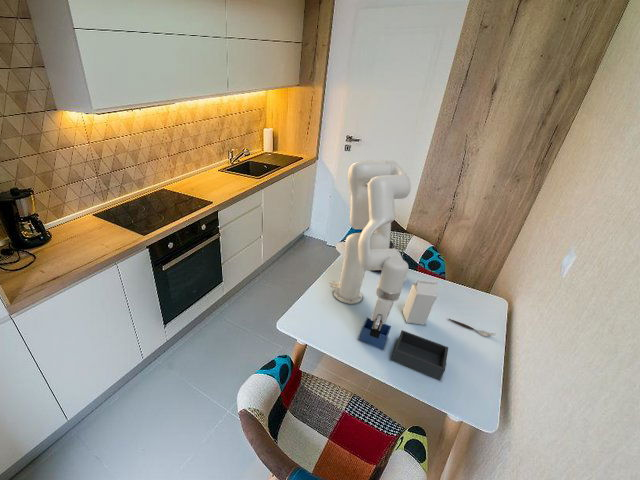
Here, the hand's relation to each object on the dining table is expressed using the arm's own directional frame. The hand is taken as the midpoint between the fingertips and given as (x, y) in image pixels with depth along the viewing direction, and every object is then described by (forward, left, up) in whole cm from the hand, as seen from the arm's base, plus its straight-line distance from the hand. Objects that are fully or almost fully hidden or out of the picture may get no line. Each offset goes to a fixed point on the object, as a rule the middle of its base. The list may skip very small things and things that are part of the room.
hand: (377, 329), depth 120 cm
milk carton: (+11, +23, -6) cm, 26 cm away
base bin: (+16, 0, -6) cm, 17 cm away
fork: (+31, +29, -6) cm, 43 cm away
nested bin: (0, +1, -6) cm, 6 cm away
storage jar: (-12, +55, -6) cm, 56 cm away
